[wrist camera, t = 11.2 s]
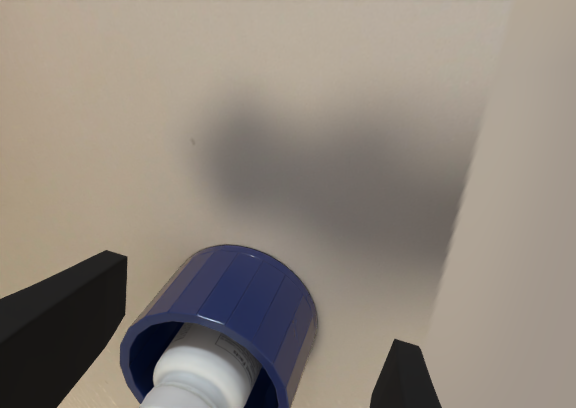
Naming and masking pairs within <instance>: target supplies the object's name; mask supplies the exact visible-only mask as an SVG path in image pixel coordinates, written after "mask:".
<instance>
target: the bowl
mask: <svg viewBox="0 0 576 408" xmlns="http://www.w3.org/2000/svg"><path fill="white" fill-rule="evenodd" d="M185 322H186V323H195V324H199V325H202V326H204V327H207V328H210V329H213V330H215V331H218V332H221V333H223V334H225V335H226V336H228V337H229V338H231V339H232V340H234V341H236V342H237V343H239V344H240V345H242V346H243V347H245V348H246V349H247V350H248V351H249V352H250V353H251V354H252V355H253V356H254V357H255V358H256V359H257V360H258V361H259V362H260V363H261V364H262V368H261V370H260V372H259V375H258V377H257V379H256V382H255V384H254V386H253V388H252V391H251V393H250V395H249V397H248V400H247V402H246V404H245V406H244V408H291V407H292V404H293V401H294V398H295V395H296V392H297V389H298V386H299V383H300V381H301V378H302V375H303V372H304V369H305V366H306V363H307V360H308V357H309V354H310V351H311V348H312V345H313V342H314V339H315V336H316V331H317V314H316V310H315V306H314V303H313V301H312V298H311V296H310V294H309V292H308V291H307V289H306V287H305V286H304V285H303V283H302V282H301V281H300V280H299V278H298V277H297V276H296V275H295V274H294V273H293V272H292V271H291V270H289V269H288V268H287V267H286V266H285V265H283V264H282V263H280V262H279V261H277V260H276V259H274V258H272V257H270V256H268V255H267V254H264V253H262V252H259V251H257V250H254V249H250V248H247V247H241V246H234V245H222V246H214V247H210V248H206V249H204V250H201V251H199V252H197V253H196V254H194V255H192V256H191V257H190V258H189V259H188V260H187V261H186V262H185V263H184V264H183V265H182V266H181V267H180V268H179V269H178V270H177V271H176V272H175V273H174V275H173V276H172V277H171V278H170V279H169V281H168V282H167V283H166V284H165V285H164V287H163V288H162V289H161V290H160V291H159V293H158V294H157V295H156V296H155V297H154V298H153V300H152V301H151V302H150V303H149V304H148V306H147V307H146V308H145V309H144V310H143V312H142V313H141V314H140V315H139V316H138V318H137V319H136V320H135V321H134V322H133V324H132V325H131V326H130V327H129V328H128V330H127V332H126V334H125V336H124V338H123V340H122V342H121V344H120V367H121V369H122V372H123V375H124V378H125V381H126V384H127V386H128V387H129V389H130V390H131V392H132V393H133V395H134V396H135V397H136V399H137V400H138V402H139V403H140V404H141V403H142V402H143V400H144V398H145V397H146V395H147V394H148V393H149V392H150V391H151V390H152V388H153V387H154V382H153V374H154V369H155V366H156V364H157V362H158V361H159V359H160V357H161V356H162V354H163V353H164V351H165V350H166V349H167V347H168V346H169V344H170V343H171V342H172V340H173V339H174V337H175V336H176V334H177V333H178V331H179V330H180V329H181V327H182V326H183V324H184V323H185Z"/></svg>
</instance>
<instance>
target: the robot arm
mask: <svg viewBox="0 0 576 408" xmlns="http://www.w3.org/2000/svg"><path fill="white" fill-rule="evenodd" d="M126 282H127V256H124V255H121V254H117V253H114V252H111V251H108V250H106V251H103V252H101V253H99V254H97V255H95V256H93V257H91V258H89V259H86V260H84V261H82V262H80V263H78V264H76V265H74V266H72V267H70V268H68V269H66V270H64V271H62V272H60V273H58V274H56V275H53V276H51V277H49V278H47V279H45V280H43V281H41V282H39V283H37V284H34V285H32V286H30V287H28V288H25V289H23V290H20V291H18V292H16V293H13V294H11V295H9V296H6V297H4V298H2V299H0V408H57V407H58V405H59V404H60V403H61V402H62V400H63V399H64V398H65V397H66V395H67V394H68V393H69V392H70V391H71V389H72V388H73V387H74V386H75V384H76V383H77V382H78V381H79V379H80V378H81V377H82V376H83V374H84V373H85V372H86V371H87V370H88V368H89V367H90V366H91V365H92V363H93V362H94V361H95V359H96V358H97V357H98V356H99V354H100V353H101V352H102V351H103V349H104V348H105V347H106V345H107V344H108V342H109V340H110V339H111V337H112V336H113V334H114V333H115V331H116V329H117V327H118V326H119V324H120V322H121V321H122V319H123V317H124V316H125V306H126ZM370 408H442V407H441V405H440V402H439V400H438V397H437V394H436V392H435V389H434V387H433V384H432V381H431V378H430V375H429V373H428V370H427V367H426V364H425V361H424V358H423V354H422V351H421V349H420V348H419V346H416V345H413V344H410V343H407V342H403V341H400V340H397V339H394V341H393V344H392V346H391V349H390V351H389V354H388V356H387V358H386V361H385V363H384V366H383V368H382V371H381V373H380V376H379V378H378V380H377V383H376V385H375V388H374V390H373V393H372V397H371V403H370Z"/></svg>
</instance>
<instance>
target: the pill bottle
mask: <svg viewBox="0 0 576 408" xmlns="http://www.w3.org/2000/svg"><path fill="white" fill-rule="evenodd" d="M261 368H262V364H261V363H260V362H259V361H258V360H257V359H256V358H255V357H254V356H253V355H252V354H251V353H250V352H249V351H248V350H247V349H246V348H245V347H243V346H242V345H240V344H239V343H237V342H236V341H234V340H232V339H231V338H229V337H228V336H226V335H225V334H223V333H221V332H218V331H215V330H213V329H210V328H207V327H204V326H202V325H199V324H195V323H186V322H185V323H184V324H183V326H182V327H181V329H180V330H179V331H178V333H177V334H176V336H175V337H174V339H173V340H172V342H171V343H170V344H169V346H168V347H167V349H166V350H165V351H164V353H163V354H162V356H161V357H160V359H159V361H158V362H157V364H156V366H155V369H154V374H153V382H154V387H153V388H152V390H151V391H150V392H149V393H148V394H147V395H146V397H145V398H144V400H143V402H142V403H141V405H140V406H139V408H244V406H245V404H246V402H247V400H248V397H249V395H250V393H251V391H252V388H253V386H254V384H255V382H256V379H257V377H258V375H259V372H260V370H261Z"/></svg>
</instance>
